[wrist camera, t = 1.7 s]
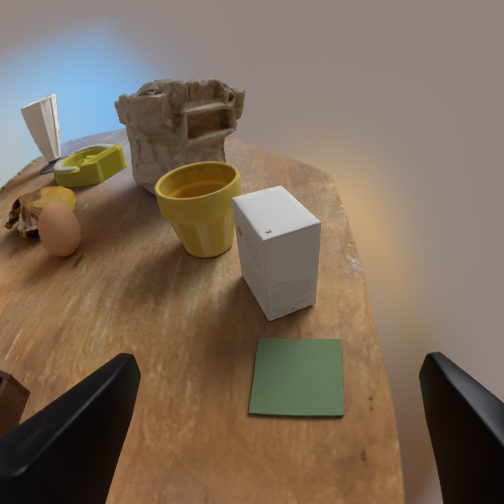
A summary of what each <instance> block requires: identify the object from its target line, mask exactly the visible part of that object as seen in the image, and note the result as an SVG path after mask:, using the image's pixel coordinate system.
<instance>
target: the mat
mask: <svg viewBox="0 0 504 504" xmlns="http://www.w3.org/2000/svg"><path fill="white" fill-rule="evenodd" d="M249 414H259V415H276V416H344V390H343V369H342V352H341V339H291V338H263V337H258V345H257V353H256V361H255V368H254V376H253V384H252V391H251V399H250V406H249Z"/></svg>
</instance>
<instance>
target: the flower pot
mask: <svg viewBox="0 0 504 504" xmlns="http://www.w3.org/2000/svg"><path fill="white" fill-rule="evenodd" d="M155 194H156V198H157V202H158V205H159V208H160V211H161V213H162V215H163V216H164V217H165V218H166V219H167V220H169V221H170V222H171V224H172V226H173V228H174V229H175V231H176V233H177V235H178V237H179V238H180V240H181V242H182V244H183V246H184V247H185V249H186V251H187V252H188V253H189V254H191V255H193V256H196V257H201V258H208V257H214V256H217V255H220V254H222V253H224V252H225V251H227V250H228V249H229V248H230V247H231V245H232V243H233V237H234V227H235V222H234V215H233V208H232V200H231V199H232V198H233V197H237V196H241V195H242V191H241V180H240V173H239V171H238V170H237V168H236V167H234V166H233V165H231V164H228V163H223V162H212V161H211V162H199V163H193V164H189V165H185V166H182V167H179V168H177V169H174V170H172V171H170V172H168V173H167V174H165V175H164V176H163V177H161V178H160V179H159V180H158V182H157V183H156V185H155Z"/></svg>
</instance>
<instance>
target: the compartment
mask: <svg viewBox="0 0 504 504" xmlns="http://www.w3.org/2000/svg"><path fill="white" fill-rule="evenodd" d="M29 394H30V392H29V391H28V390H27V389H26V388H25V387H24V386H22V385H21V384H20V383H19V382H18V381H17V380H16V379H15V378H14V377H13V376H12V375H11V374H8V373H6V372H3V371H1V370H0V436H1V435H3V434H5V433H6V432H8V431H10V430H12V429H13V428H15V427H17V426H18V423H19V421H20V418H21V415H22V412H23V410H24V407H25V405H26V402H27V399H28V397H29Z"/></svg>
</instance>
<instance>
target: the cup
mask: <svg viewBox="0 0 504 504" xmlns="http://www.w3.org/2000/svg"><path fill="white" fill-rule="evenodd" d="M21 112H22V114H23V117H24V119H25V122H26V124H27V127H28V129H29V131H30V133H31V135H32V137H33V139H34V141H35V143H36V145H37V146H38V148H39V150H40V151H41V153H42V154H43V156H44V157H45V159H46V160H47V161H48V162H49V164H47V165H46V166H45V167H43V168H42V169H41V171H40V173H41V174H47V173H50V172H53V169H54V166H55V164H56V163H57V162H58V161H59V160H63V159H65V158H66V157H68V156H65V157H62V158H60V156H61V150H60V132H59V122H58V112H57V105H56V97H55V94H52V95H49V96H46V97H44V98H41V99H39V100H37V101H35V102H32V103H30V104H28V105H26V106H24V107H22V108H21Z"/></svg>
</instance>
